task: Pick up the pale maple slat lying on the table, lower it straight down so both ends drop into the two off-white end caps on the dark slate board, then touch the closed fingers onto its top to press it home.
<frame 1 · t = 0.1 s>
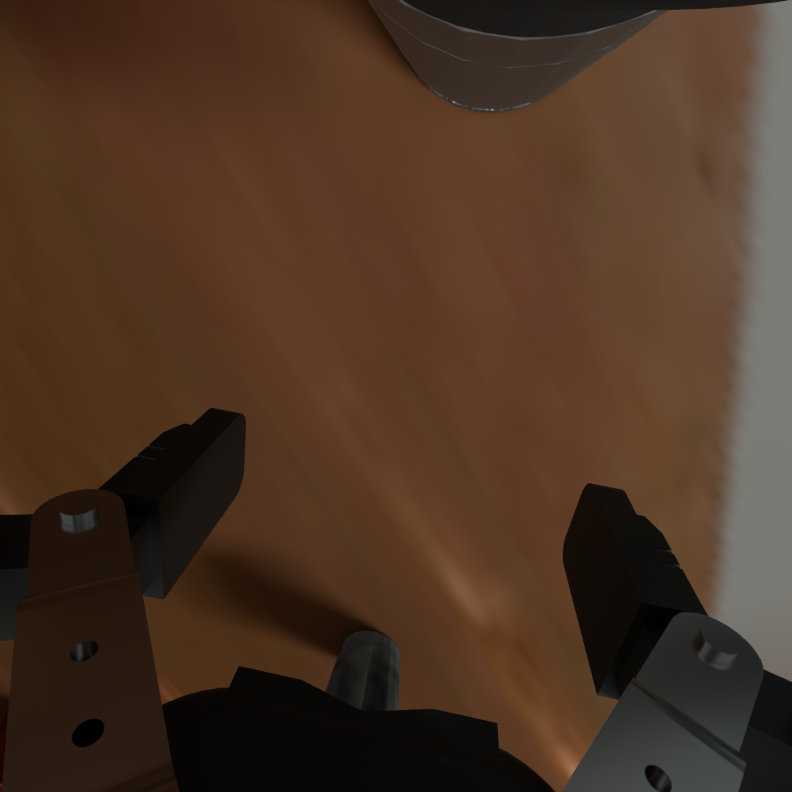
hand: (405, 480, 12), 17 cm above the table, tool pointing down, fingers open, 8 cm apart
soda can: (41, 728, 51), on the table
beverage cup: (371, 648, 40), on the table
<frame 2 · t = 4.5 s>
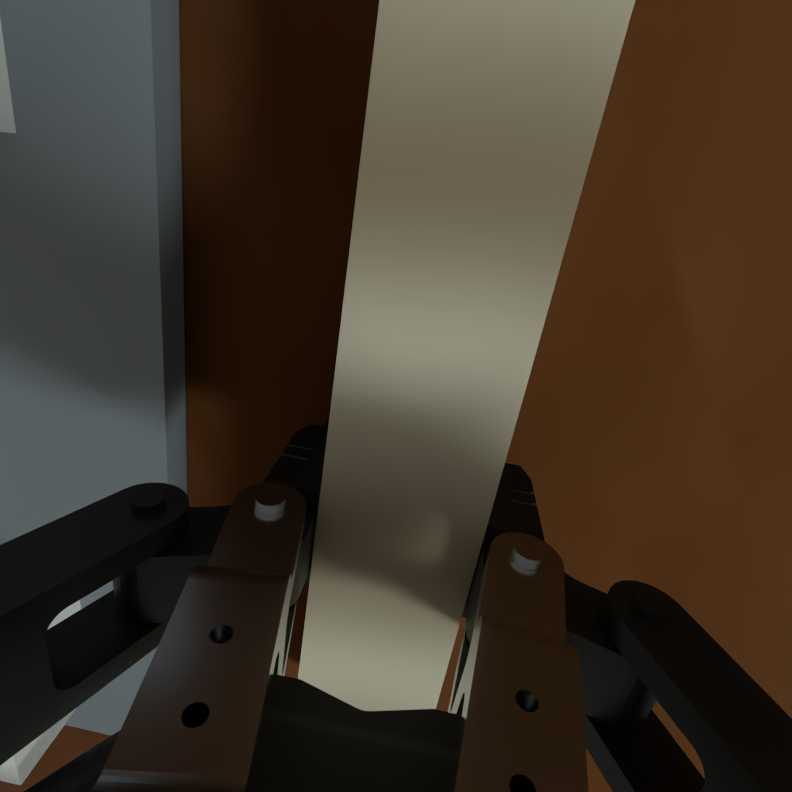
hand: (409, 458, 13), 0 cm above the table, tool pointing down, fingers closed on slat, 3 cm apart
slat: (411, 455, 13), on the table, touching gripper
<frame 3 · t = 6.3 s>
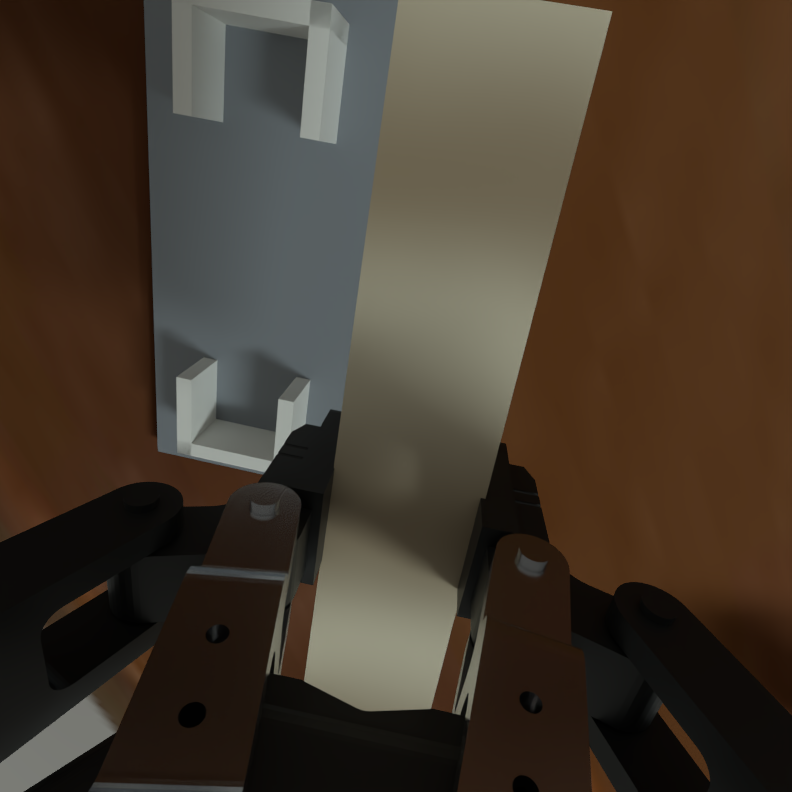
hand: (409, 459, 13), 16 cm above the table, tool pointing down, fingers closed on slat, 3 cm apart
slat: (414, 445, 14), point 14 cm above the table, touching gripper
cap board: (270, 258, 27), on the table
when the fingers open (3 cm above the table, at t = 8.6 s): slat stays where it is, resting on cap board.
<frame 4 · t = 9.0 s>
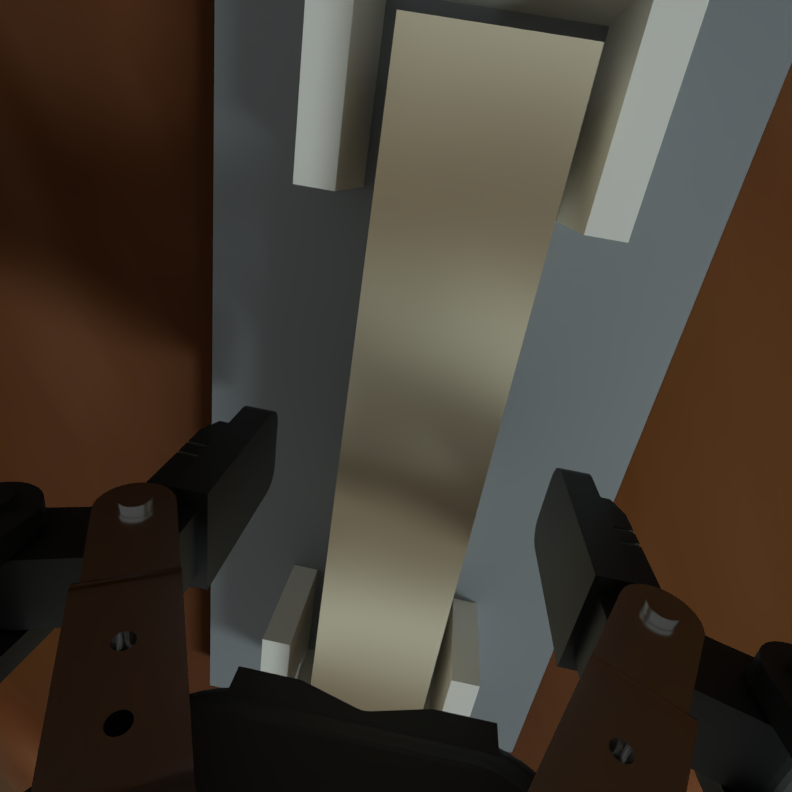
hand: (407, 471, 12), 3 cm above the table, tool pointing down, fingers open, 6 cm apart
slat: (416, 437, 15), point 1 cm above the table, touching cap board
cap board: (418, 411, 15), on the table
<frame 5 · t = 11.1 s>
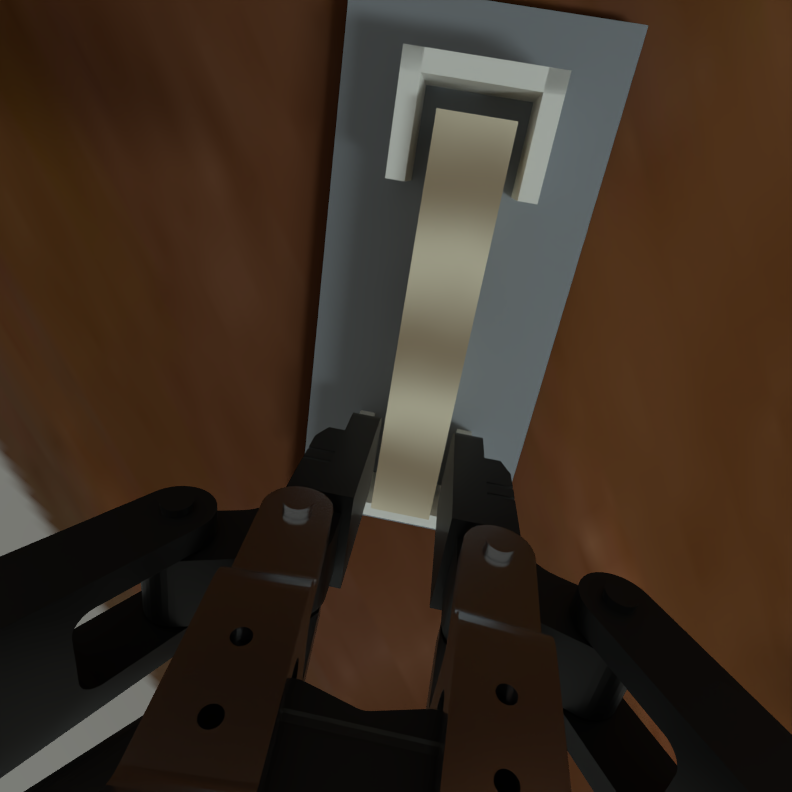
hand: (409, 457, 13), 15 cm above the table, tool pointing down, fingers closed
slat: (436, 323, 26), point 1 cm above the table, touching cap board
cap board: (437, 311, 27), on the table
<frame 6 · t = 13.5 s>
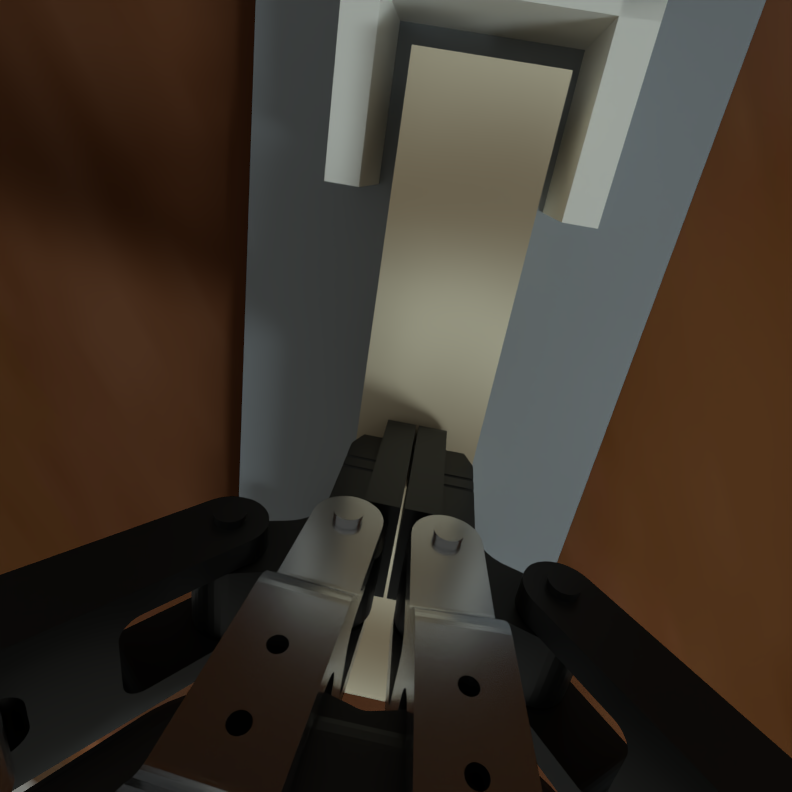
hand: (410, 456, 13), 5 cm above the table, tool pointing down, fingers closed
slat: (422, 403, 17), point 1 cm above the table, touching cap board, gripper
cap board: (424, 381, 18), on the table
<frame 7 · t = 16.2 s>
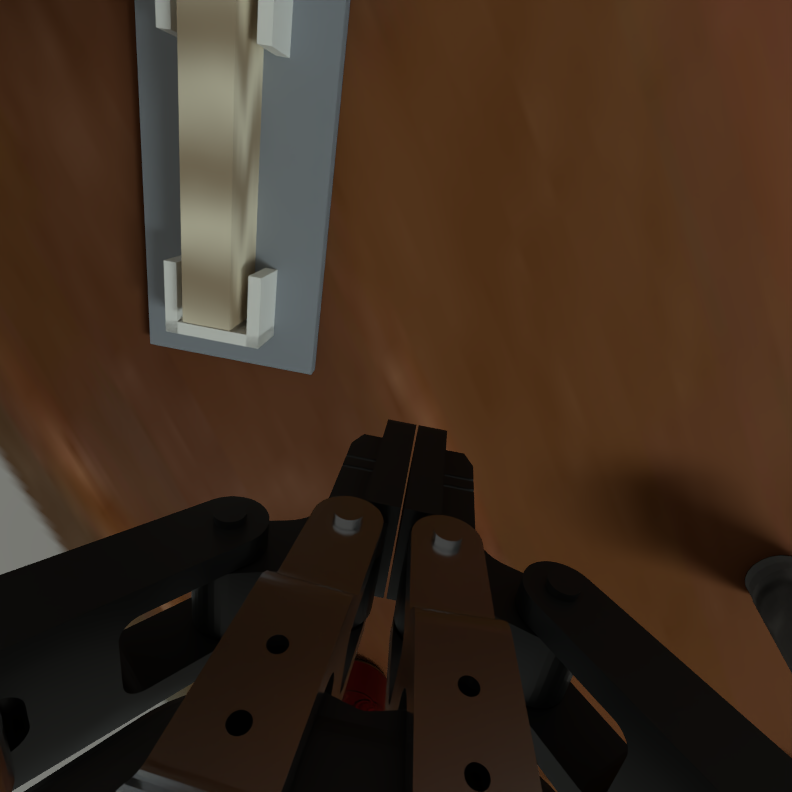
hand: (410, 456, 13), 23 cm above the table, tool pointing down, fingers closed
slat: (235, 170, 32), point 1 cm above the table, touching cap board
soda can: (355, 679, 51), on the table
beverage cup: (775, 576, 40), on the table
cap board: (240, 164, 32), on the table
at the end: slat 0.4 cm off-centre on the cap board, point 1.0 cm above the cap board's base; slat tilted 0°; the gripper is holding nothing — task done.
